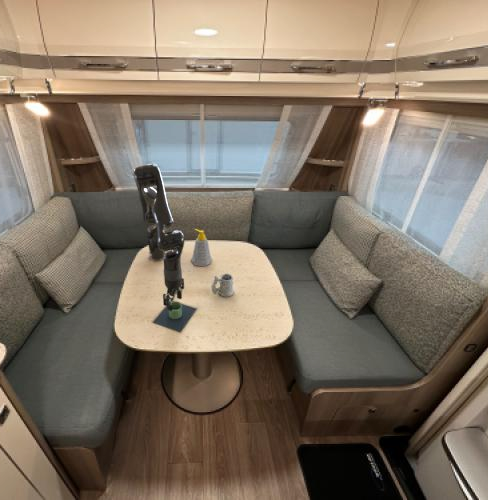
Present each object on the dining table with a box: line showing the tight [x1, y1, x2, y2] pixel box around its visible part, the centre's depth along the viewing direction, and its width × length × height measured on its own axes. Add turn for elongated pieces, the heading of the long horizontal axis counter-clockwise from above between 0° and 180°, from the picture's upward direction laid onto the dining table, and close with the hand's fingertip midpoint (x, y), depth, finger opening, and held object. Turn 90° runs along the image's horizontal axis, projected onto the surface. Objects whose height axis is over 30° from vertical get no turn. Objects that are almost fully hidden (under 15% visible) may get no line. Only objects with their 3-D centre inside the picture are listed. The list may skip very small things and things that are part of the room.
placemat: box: [152, 300, 197, 333], centre depth 124 cm, size 16×14×1 cm
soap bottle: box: [191, 228, 212, 267], centre depth 160 cm, size 12×12×20 cm
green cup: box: [168, 300, 182, 319], centre depth 122 cm, size 6×6×6 cm
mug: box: [211, 273, 234, 298], centre depth 135 cm, size 8×12×12 cm, turn 110°
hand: (174, 304), depth 121 cm, fingers open, 8 cm apart
